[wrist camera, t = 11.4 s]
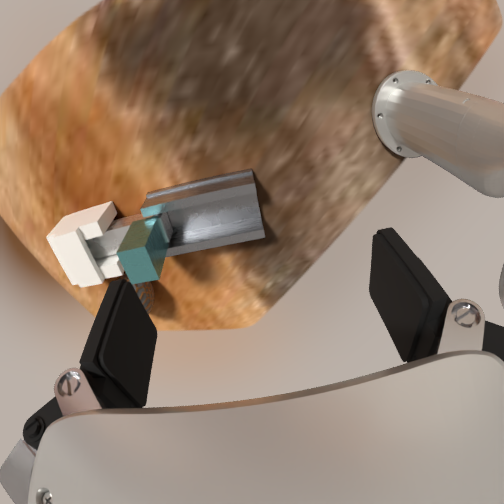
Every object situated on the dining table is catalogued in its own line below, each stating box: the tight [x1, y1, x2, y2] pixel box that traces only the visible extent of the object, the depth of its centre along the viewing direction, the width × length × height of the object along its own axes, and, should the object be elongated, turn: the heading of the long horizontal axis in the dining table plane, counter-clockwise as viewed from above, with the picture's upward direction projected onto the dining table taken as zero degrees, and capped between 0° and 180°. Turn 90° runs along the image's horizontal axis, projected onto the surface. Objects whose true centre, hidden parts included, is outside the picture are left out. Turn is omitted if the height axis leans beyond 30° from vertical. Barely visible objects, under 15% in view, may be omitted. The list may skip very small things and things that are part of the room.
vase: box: [118, 274, 155, 314], centre depth 42 cm, size 7×7×9 cm
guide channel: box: [140, 169, 265, 257], centre depth 38 cm, size 14×8×4 cm, turn 100°
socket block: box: [46, 201, 125, 288], centre depth 38 cm, size 9×8×7 cm
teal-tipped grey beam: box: [85, 212, 173, 284], centre depth 35 cm, size 14×4×10 cm, turn 100°
